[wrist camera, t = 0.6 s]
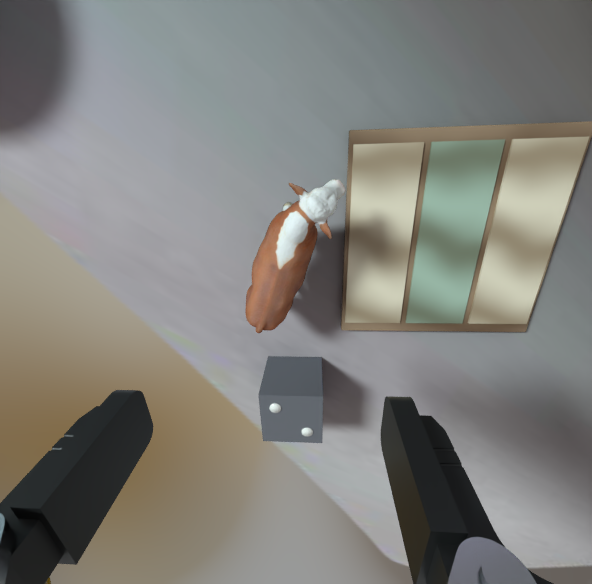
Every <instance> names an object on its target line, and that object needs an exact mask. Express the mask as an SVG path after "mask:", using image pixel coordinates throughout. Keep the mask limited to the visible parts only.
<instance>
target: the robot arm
mask: <svg viewBox="0 0 592 584" xmlns="http://www.w3.org/2000/svg"><path fill="white" fill-rule="evenodd" d="M152 433H153V423H152V419H151V416H150V413H149V410H148V407H147V404H146V401H145V398H144V395H143V393H142V392H141V391H135V390H116V391H114V392H112V393H111V394H110V395H109V396H108V398H107V399H106V400H105V401H104V402H103V403H102V404H101V405H100V406H96V407H95V408H94V409H92V410H91V411H89V412H88V413H87V414H85V415H84V416H82V417H81V418H79V419H78V420H77V421H76V423H75V424H74V425H73V426H72V427H71V428H70V429H69V430H68V431H67V432H66V433H65V434H64V437H63V438H61V439H60V440H59V441H58V442H57V443H56V444H55V445H54V446H53V447H52V450H51V451H48V453H47V454H46V455H45V456H44V457H43V458H42V459H41V460H40V461H39V462H38V463H37V464H36V465H35V467H34V468H33V469H32V470H31V471H30V472H29V473H28V474H27V475H26V476H25V477H24V478H23V479H22V480H21V481H20V483H19V484H18V485H17V486H16V487H15V488H14V489H13V490H12V491H11V492H10V493H9V494H8V495H7V497H6V498H5V499H4V500H3V501H2V502H1V503H0V584H51V580H50V577H49V576H50V575H51V573H52V571H53V570H54V569H55V567H56V566H57V564H58V563H60V564H75V565H76V564H77V563H78V561H79V559H80V558H81V556H82V554H83V553H84V551H85V549H86V548H87V546H88V544H89V543H90V541H91V539H92V538H93V536H94V534H95V533H96V531H97V529H98V528H99V526H100V524H101V523H102V521H103V519H104V517H105V516H106V514H107V512H108V511H109V509H110V508H111V506H112V504H113V503H114V501H115V499H116V498H117V496H118V494H119V493H120V491H121V489H122V488H123V486H124V484H125V482H126V481H127V479H128V477H129V476H130V474H131V472H132V471H133V469H134V467H135V466H136V464H137V462H138V461H139V459H140V457H141V456H142V454H143V452H144V451H145V449H146V447H147V445H148V444H149V442H150V440H151V437H152ZM381 446H382V452H383V456H384V460H385V465H386V469H387V473H388V478H389V482H390V486H391V490H392V495H393V499H394V503H395V507H396V512H397V516H398V520H399V525H400V529H401V533H402V537H403V542H404V546H405V550H406V554H407V559H408V563H409V567H410V571H411V576H412V580H413V584H553V583H551V582H549V581H546V580H544V579H542V578H541V577H539V576H537V575H536V574H534V573H532V572H531V571H530V570H528V569H527V568H526V567H525V566H524V564H523V563H522V562H521V561H520V560H519V559H518V558H517V557H516V556H515V555H514V554H513V553H511V552H510V551H509V550H508V549H506V548H505V546H504V545H503V544H502V542H501V541H500V540H499V538H498V536H497V535H496V533H495V531H494V529H493V527H492V525H491V523H490V521H489V519H488V517H487V515H486V513H485V511H484V509H483V507H482V505H481V503H480V501H479V498H478V496H477V494H476V492H475V490H474V488H473V486H472V484H471V482H470V480H469V478H468V476H467V474H466V472H465V470H464V468H462V466H461V462H460V460H459V458H458V456H457V454H456V452H454V447H453V445H452V443H451V441H450V439H449V437H448V435H447V433H446V431H445V430H444V429H443V428H442V427H441V426H440V425H439V424H438V423H437V422H436V420H435V419H434V418H433V417H432V416H420V415H419V413H418V411H417V408H416V406H415V403H414V401H413V399H412V398H411V397H386V398H385V402H384V410H383V418H382V426H381Z"/></svg>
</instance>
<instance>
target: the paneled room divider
mask: <svg viewBox="0 0 592 584" xmlns="http://www.w3.org/2000/svg"><path fill="white" fill-rule="evenodd" d="M591 137H592V122H565V123H538V124H511V125H483V126H456V127H429V128H402V129H375V130H350V131H349V147H348V171H347V195H346V219H345V243H344V266H343V290H342V314H341V329H342V330H376V331H480V332H526V329H527V326H528V323H529V320H530V317H531V314H532V311H533V308H534V306H535V303H536V300H537V297H538V294H539V291H540V288H541V285H542V282H543V279H544V276H545V273H546V270H547V267H548V264H549V261H550V258H551V255H552V252H553V249H554V246H555V243H556V240H557V237H558V234H559V231H560V228H561V225H562V223H563V220H564V217H565V214H566V211H567V208H568V205H569V202H570V199H571V196H572V193H573V190H574V187H575V184H576V181H577V178H578V175H579V172H580V169H581V166H582V163H583V160H584V157H585V154H586V151H587V148H588V145H589V142H590V140H591Z"/></svg>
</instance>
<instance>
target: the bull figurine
mask: <svg viewBox="0 0 592 584" xmlns="http://www.w3.org/2000/svg"><path fill="white" fill-rule="evenodd" d="M289 186H291V187H292V189H293V190H294V191H295V193H296V194H297V195H298V196H299V197H300V200H299V201H297V202H295V203H294V204H292V203H290V202H287V203H285V204H284V206H283V211H282V212H280V213H279V214H277V215H276V216H275V218H274V219H273V220H272V222H271V223H270V225H269V227H268V230H267V233H266V236H265V238H264V240H263V242H262V243H261V245H260V247H259V250H258V253H257V255H256V257H255V260H254V262H253V267H252V285H251V286H250V287H249V289H248V291H247V296H246V318H247V321H248V322H249V323H250V324H251V325H252V326H254V327H256V332H257V333H261V332H262V330H273V329H275V328H276V327H277V326H278V325H279V324H280V323H281V322H282V321H283V320H284V319H285V317H286V315H287V313H288V311H289V310H290V308H291V306H292V303H293V298H294V296H295V294H296V293H297V291H298V290H299V289H300V287H301V286H302V284H303V281H304V279H305V274H306V271H307V268H308V265H309V262H310V259H311V255H312V253H313V250H314V247H315V244H316V240H317V228H316V226H315V223H318V224H319V225H320V228H321V230H322V231H323V232H324V233H325V234H326V235H327V236H328V238H329V239H332V235H331V231H330V229H329V227H328V224H327V218H328V217H330V216H331V215H333V214H334V212H335V210H336V208H337V200H338V199H340V198H341V197H342V196H343V195H344V193H345V187H344V186H343V184H342V182H341V181H340V180H335V179H333V180H331V181H329V182H328V183H326V184H325V186H324V187H321V188H315V189H314V190H312V191H311V192H309V193H308V192H307V191H306V190H305V189H303V188H302V187H299V186H297V185H294V184H292V183H289Z"/></svg>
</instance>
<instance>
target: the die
mask: <svg viewBox="0 0 592 584" xmlns="http://www.w3.org/2000/svg"><path fill="white" fill-rule="evenodd" d="M259 404H260V415H261V425H262V435H263V441H281V442H309V443H322V427H323V384H322V357H268V359H267V363H266V367H265V371H264V375H263V379H262V383H261V387H260V391H259Z"/></svg>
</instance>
